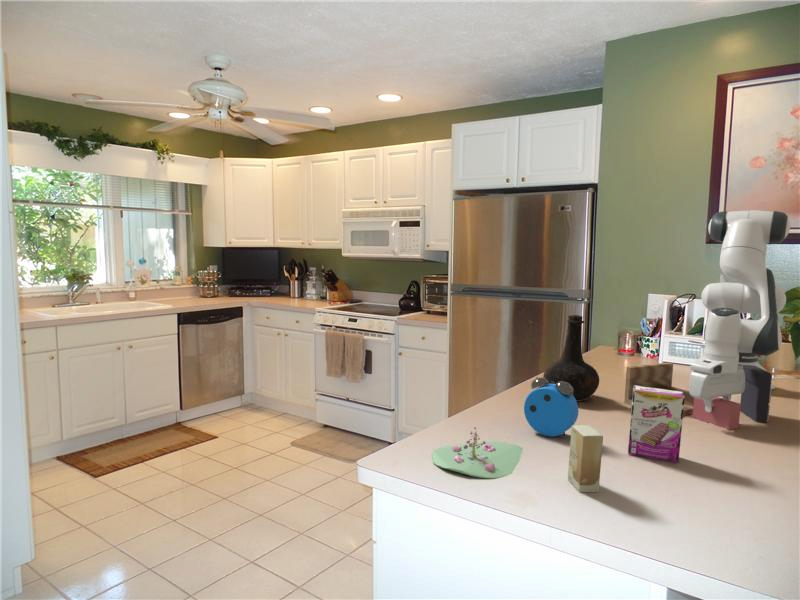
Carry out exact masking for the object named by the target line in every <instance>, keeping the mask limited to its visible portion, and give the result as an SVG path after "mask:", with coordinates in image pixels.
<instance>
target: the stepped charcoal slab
mask: <svg viewBox="0 0 800 600" xmlns="http://www.w3.org/2000/svg"><path fill="white" fill-rule="evenodd" d="M742 366H743V370H744V372H745V390H744V392H743V393H741V395H740V402H739V403H740V404H741V408H740V413H742V414H743V415H745V416H747V417H748V418H749V419H751V420H752V421H754V422H755V423H756V422H757V423H767V422H768V421H769V420H770V418H769V417H770V409H771V407H770V404H771V398H772V390H771V388H770V387H771V384H772V381H773V374H772V373H771V372H769V371H768V370H766V369H765V370H766V371H765V370H763V369H761V368H759V367H757V366H754V365H742Z"/></svg>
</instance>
